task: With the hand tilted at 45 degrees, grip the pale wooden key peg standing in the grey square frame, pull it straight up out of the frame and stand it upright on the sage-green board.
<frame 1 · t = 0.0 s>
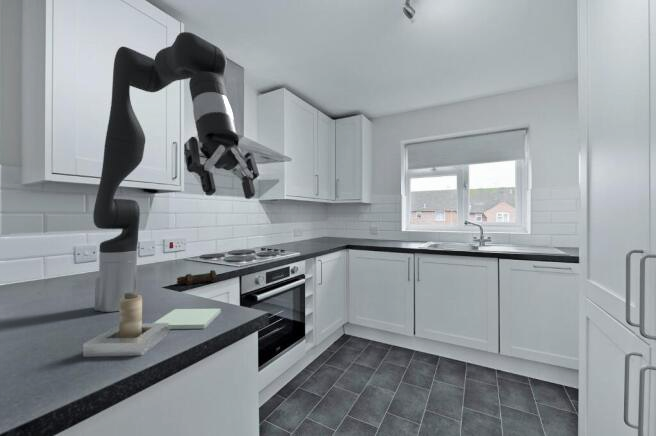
hand: (231, 195, 54), 31 cm above the worktop, tool tilted 20°, fingers open, 8 cm apart
key peg: (130, 318, 61), in the grey square frame
bolt: (196, 284, 122), on the worktop
grey square frame: (130, 344, 61), on the worktop
set down board: (188, 319, 76), on the worktop
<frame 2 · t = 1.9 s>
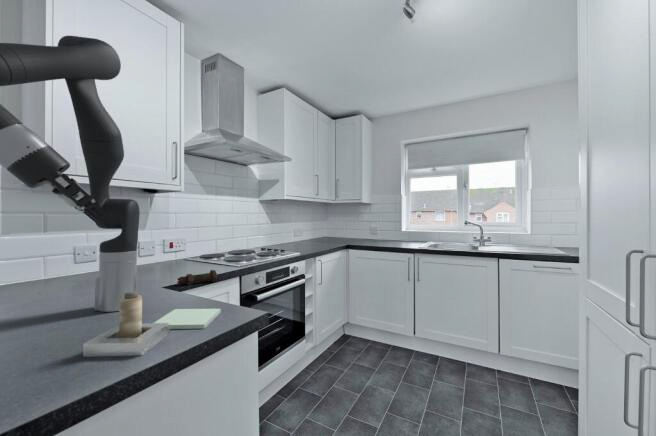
hand: (104, 221, 59), 26 cm above the worktop, tool tilted 45°, fingers open, 8 cm apart
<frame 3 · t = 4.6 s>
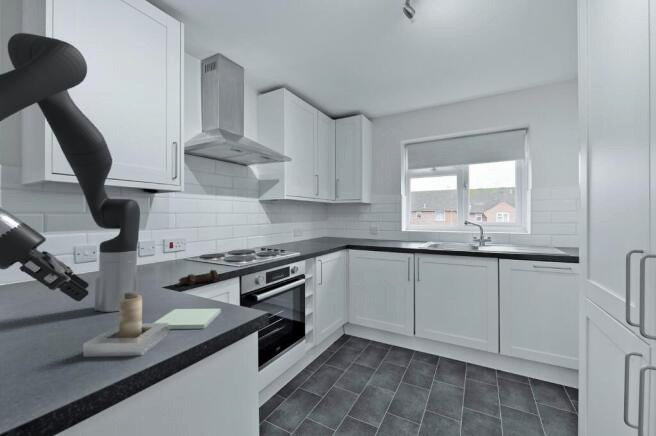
hand: (84, 292, 56), 12 cm above the worktop, tool tilted 45°, fingers open, 8 cm apart
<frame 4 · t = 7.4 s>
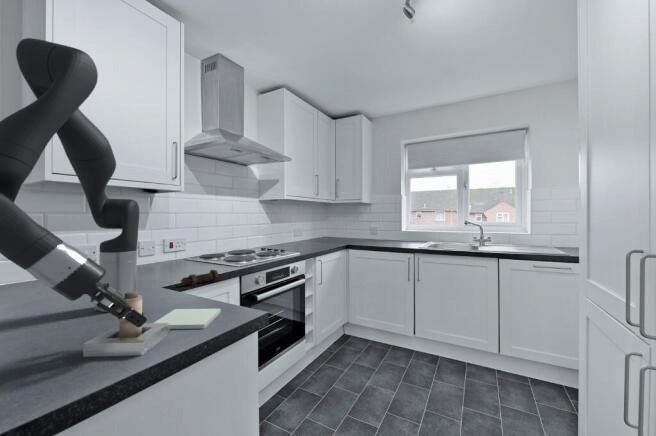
hand: (141, 320, 62), 5 cm above the worktop, tool tilted 45°, fingers closed on key peg, 4 cm apart
key peg: (130, 318, 61), in the grey square frame, touching gripper
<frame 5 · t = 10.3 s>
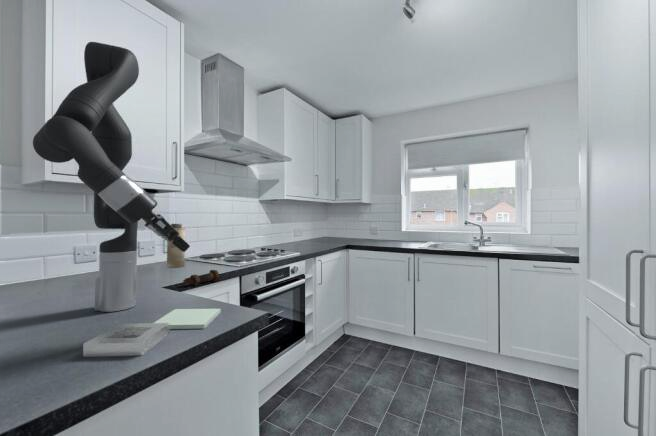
hand: (184, 248, 74), 20 cm above the worktop, tool tilted 45°, fingers closed on key peg, 4 cm apart
key peg: (176, 245, 73), point 20 cm above the worktop, touching gripper
when the fingers open (7 cm above the worktop, at t = 13.5 s): key peg drops 1 cm, resting on set down board.
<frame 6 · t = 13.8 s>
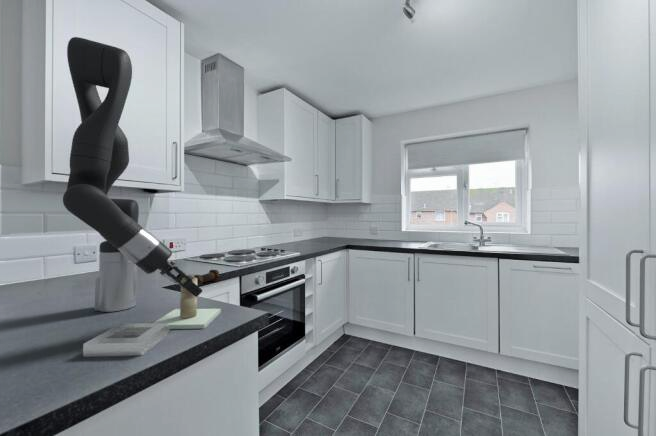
hand: (195, 291, 78), 8 cm above the worktop, tool tilted 45°, fingers open, 6 cm apart
key peg: (188, 295, 76), on the set down board, point 6 cm above the worktop
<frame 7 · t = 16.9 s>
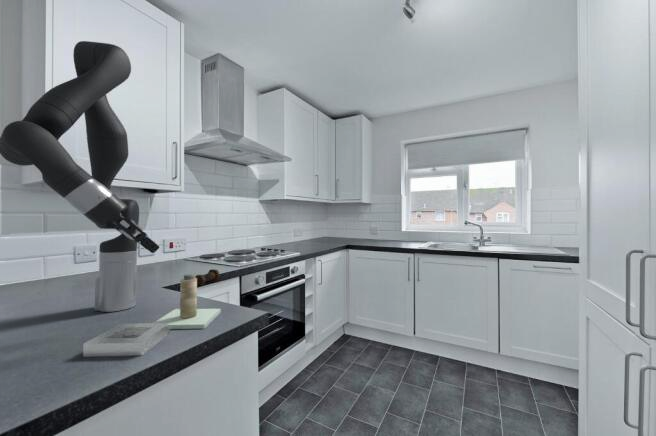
hand: (153, 248, 74), 19 cm above the worktop, tool tilted 45°, fingers open, 8 cm apart
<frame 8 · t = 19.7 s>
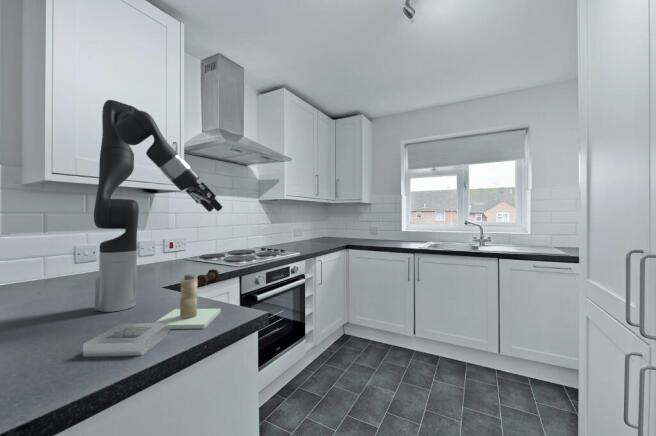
hand: (215, 209, 98), 31 cm above the worktop, tool tilted 45°, fingers open, 8 cm apart
at the end: key peg inside the target area on the set down board (0.1 cm from its centre), point 6.5 cm above the set down board's base; key peg tilted 0°; the gripper is holding nothing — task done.
